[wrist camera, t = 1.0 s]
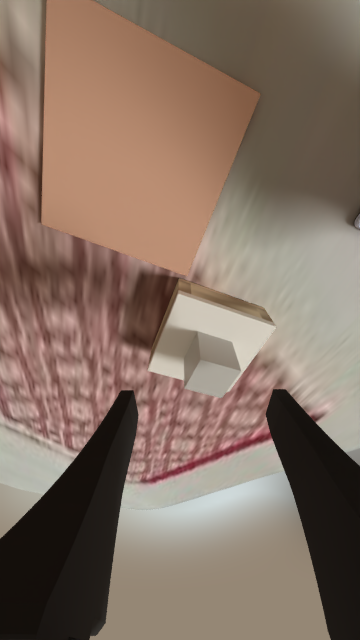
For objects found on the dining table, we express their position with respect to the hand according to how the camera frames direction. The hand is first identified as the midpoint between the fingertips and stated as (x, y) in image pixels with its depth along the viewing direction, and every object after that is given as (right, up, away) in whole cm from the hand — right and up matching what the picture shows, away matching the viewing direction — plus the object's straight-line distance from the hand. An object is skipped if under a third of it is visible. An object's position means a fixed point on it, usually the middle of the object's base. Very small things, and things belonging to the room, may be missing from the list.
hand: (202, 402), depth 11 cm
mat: (-4, +14, +2) cm, 15 cm away
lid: (+1, +2, +7) cm, 7 cm away
